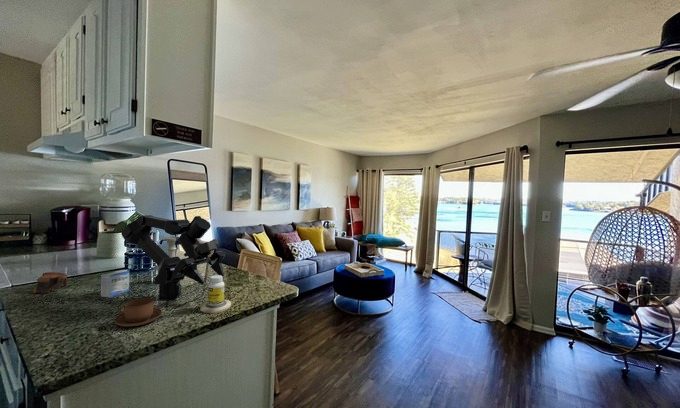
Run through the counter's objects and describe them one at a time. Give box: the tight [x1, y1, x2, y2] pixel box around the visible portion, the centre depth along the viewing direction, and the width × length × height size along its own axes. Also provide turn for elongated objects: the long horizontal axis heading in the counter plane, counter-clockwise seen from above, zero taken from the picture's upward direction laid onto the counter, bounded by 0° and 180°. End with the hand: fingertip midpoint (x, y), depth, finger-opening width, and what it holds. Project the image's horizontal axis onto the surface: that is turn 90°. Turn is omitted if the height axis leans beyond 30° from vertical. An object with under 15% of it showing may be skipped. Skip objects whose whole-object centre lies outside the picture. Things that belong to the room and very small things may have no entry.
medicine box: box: [100, 269, 130, 298], centre depth 108 cm, size 8×4×9 cm, turn 168°
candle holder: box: [162, 236, 182, 282], centre depth 126 cm, size 9×9×20 cm
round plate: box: [199, 298, 232, 314], centre depth 98 cm, size 10×10×1 cm
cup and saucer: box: [114, 297, 163, 328], centre depth 86 cm, size 12×12×6 cm
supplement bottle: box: [207, 274, 225, 306], centre depth 98 cm, size 5×5×10 cm
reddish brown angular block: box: [32, 271, 68, 294], centre depth 110 cm, size 12×10×8 cm
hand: (213, 280), depth 99 cm, fingers open, 9 cm apart
